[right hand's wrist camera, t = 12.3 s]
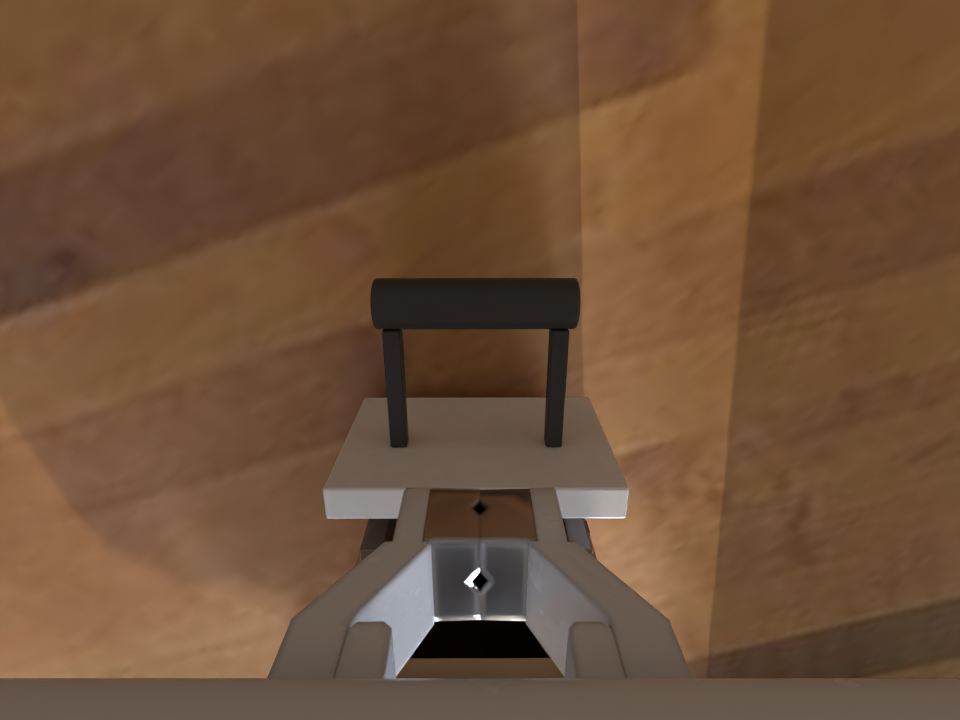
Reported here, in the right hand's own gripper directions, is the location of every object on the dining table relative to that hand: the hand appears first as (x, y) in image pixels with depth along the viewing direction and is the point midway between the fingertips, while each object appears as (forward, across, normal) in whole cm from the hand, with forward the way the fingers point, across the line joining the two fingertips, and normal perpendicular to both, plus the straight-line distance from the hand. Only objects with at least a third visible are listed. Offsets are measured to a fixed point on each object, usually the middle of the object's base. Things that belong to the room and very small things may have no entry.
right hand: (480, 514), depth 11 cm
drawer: (+12, 0, +8) cm, 14 cm away
